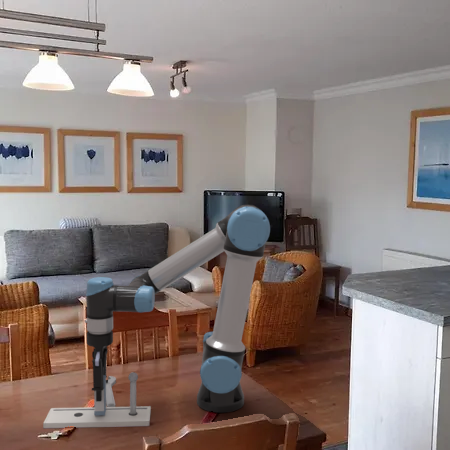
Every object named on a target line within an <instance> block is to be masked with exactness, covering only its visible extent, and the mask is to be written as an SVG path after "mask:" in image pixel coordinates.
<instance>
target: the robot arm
mask: <svg viewBox="0 0 450 450" xmlns="http://www.w3.org/2000/svg"><path fill="white" fill-rule="evenodd" d="M270 233H271V225H270V220H269V218H268V217H267V214H265V212H263V211H262V209H260V208H259V207H257V206H255V205H253V204H243V205H240V206H238V207H236V208H235V209H233V210H232V211H231V212H230V213H229V214H227V215H226V216H225V217H224V218H222V219H221V220H220V221H218V222H217V223H216V225H215V228H213V229H212V230H210V231H208V232H207V233H205V234H203V235H202V236H200V237H199V238H197V239H195V240H194V241H192V242H191V243H189V244H188V245H186V246H185V247H183V248H181V249H180V250H178V251H176V252H175V253H172V255H170V256H169V257H167V258H166V259H164V260H162V261H160V262H159V263H158V264H156V265H154V266H152V267H151V268H150V269H149V270H147V271H145V272H144V273H142V274H141V275H137V276H135V277H134V278H133V279H132V280H131V281H130V283H129V284H128V285H116V284H114V281H113V279H112V278H111V277H105V276H104V277H103V276H102V277H101V276H99V277H97V276H96V277H92V278H89V279H88V281H87V282H86V294H85V297H86V319H84V324H86V331H87V332H86V344H87V346H89V347H93V350H92V352H91V354H92V355H91V356H92V360H91V362H92V379H93V380H92V381H93V382H92V383H93V384H92V385H93V387H91V391H92V392H93V391H94V392H93V393H94V395H93V397H94V398H93V399H94V400H93V402H94V404H93V406H94V411H104V387H103V375H106V378H108V376H107V360H108V353H109V352H108V346H111V345H112V344H113V342H114V332H113V329H114V313H113V312H121V313H122V312H126V313H128V312H129V313H130V312H131V313H139V314H140V313H141V314H142V313H149V312H152V311H153V310H154V307H155V301H156V300H155V297H156V295H157V294H159V293H160V292H161V291H162V290H164V289H166V288H168V287H169V286H171V285H172V284H173V283H176V282H177V281H179V280H180V279H182V278H184V277H185V276H187V275H188V274H190V273H192V272H193V271H195V270H196V269H199V267H201V266H202V265H204V264H205V263H208V262H209V261H211V260H212V259H215V257H217V256H219V255H220V254H222V253H225V254H226V256H227V257H226V263H225V268H224V273H223V277H222V283H221V289H220V294H219V299H218V304H217V310H216V314H215V318H214V319H215V320H214V326H213V331H207V332H205V334H204V335H203V340H202V343H203V345H202V346H203V347H202V359H201V367H200V369H199V375H200V380H201V383H200V386H199V388H198V391H197V395H196V404H197V406H198V407H199V408H200V409H203V410H205V411H207V412H211V411H213V412H212V413H221V414H222V413H231V412H235V411H237V410H240V409H241V408H243V406H244V405H245V395H244V391H243V389H242V385H241V379H242V376H243V373H242V367H243V361H244V357H245V352H246V351H245V350H246V346H245V345H244V343H243V341H242V339H243V334H244V330H245V323H246V319H247V315H248V314H247V313H248V308H249V303H250V300H251V299H250V298H251V297H250V296H251V292H252V288H253V283H254V277H255V273H256V268H257V263H258V262H259V261H260V260H261V259H262V258H264V255H265V254H264V253H265V249H266V243H267V241H269V237H270ZM106 383H108V379H106Z"/></svg>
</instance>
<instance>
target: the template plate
mask: <svg viewBox="0 0 450 450" xmlns="http://www.w3.org/2000/svg"><path fill="white" fill-rule="evenodd" d="M138 378H139V376H138V373H137V372H133V371H132V372H130V373H129V375H128V381H129V393H130V394H129V406H115V407H107V406H106V413H105V415H94V407H90V406H89V407H87V406H86V407H51V408H50V410H49V411H48V413H47V416H46V418H45V419H44V421H43V423H42V424H43V425H42V426H43V427H42V428H43V429H63V428H64V429H66V428H65V427H68V426H69V427H70V426H74V427H76V428H115V427H116V428H117V427H118V428H119V427H150V422H151V412H152V410H151V409H152V408H151V407H152V406H151V405H149V406H146V405H145V406H141V405H140V406H137V381H138Z"/></svg>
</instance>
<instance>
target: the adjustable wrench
mask: <svg viewBox="0 0 450 450" xmlns="http://www.w3.org/2000/svg"><path fill="white" fill-rule="evenodd" d="M107 380H108V383H106V407H116V401H115V397H114V391H113V389H112V387H113V386H114V385H115V384H116V383H117V378H116V376H113V375H108V376H107Z"/></svg>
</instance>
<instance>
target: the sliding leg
mask: <svg viewBox="0 0 450 450" xmlns="http://www.w3.org/2000/svg"><path fill="white" fill-rule="evenodd" d="M106 376H107V374H106V375H103V387H104V411H94V415H105V413H106V407H107V405H106V380H107V377H106Z"/></svg>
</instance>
